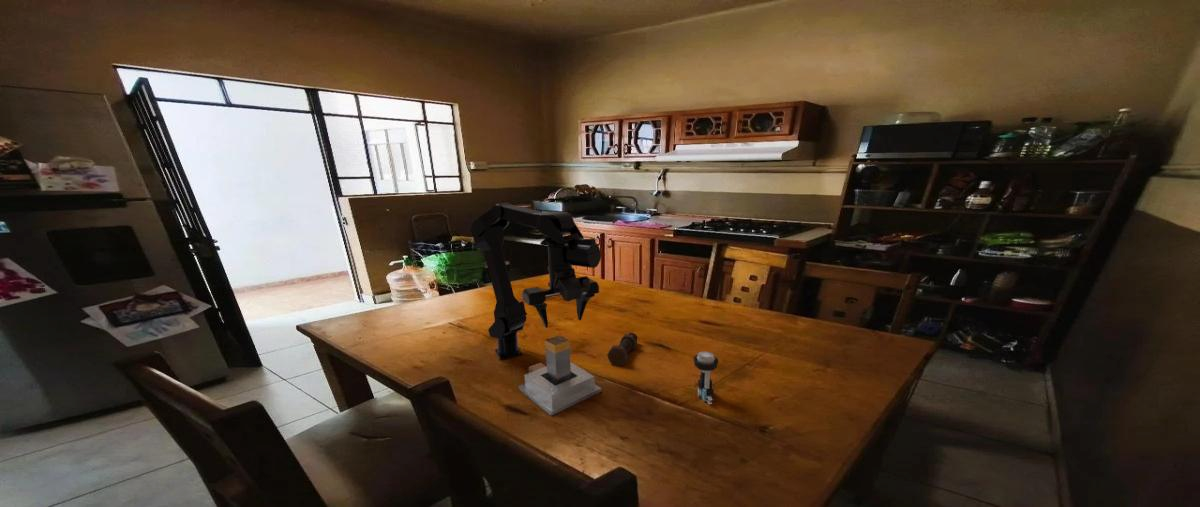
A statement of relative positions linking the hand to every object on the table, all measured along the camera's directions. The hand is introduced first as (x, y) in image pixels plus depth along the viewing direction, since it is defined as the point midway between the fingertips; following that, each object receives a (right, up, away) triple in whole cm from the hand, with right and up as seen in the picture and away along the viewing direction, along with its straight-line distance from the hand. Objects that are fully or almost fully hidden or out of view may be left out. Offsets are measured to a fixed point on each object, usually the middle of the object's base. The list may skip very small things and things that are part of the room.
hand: (563, 323), depth 97 cm
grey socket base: (-2, -14, -5) cm, 15 cm away
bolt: (+17, -11, +12) cm, 23 cm away
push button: (+33, -15, -11) cm, 38 cm away
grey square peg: (0, -14, -7) cm, 16 cm away
